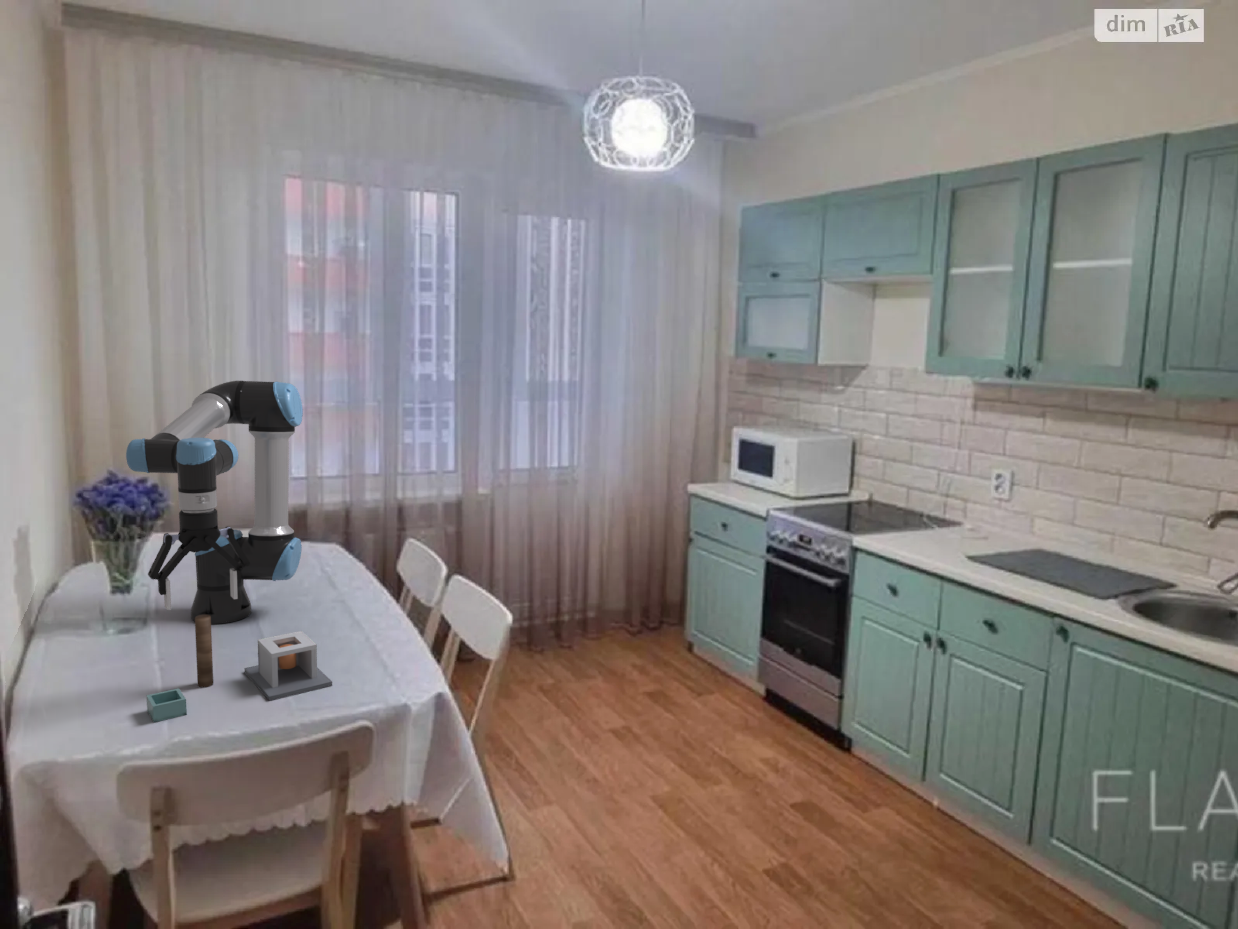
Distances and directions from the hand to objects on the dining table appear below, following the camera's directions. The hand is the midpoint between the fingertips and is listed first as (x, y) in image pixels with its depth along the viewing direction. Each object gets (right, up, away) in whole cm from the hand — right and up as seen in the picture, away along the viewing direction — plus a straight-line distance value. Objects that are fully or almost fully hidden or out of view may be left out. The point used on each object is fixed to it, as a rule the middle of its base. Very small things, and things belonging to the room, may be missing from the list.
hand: (201, 602), depth 190 cm
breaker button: (+16, -16, +8) cm, 24 cm away
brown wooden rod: (-1, -19, +4) cm, 19 cm away
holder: (-2, -21, -10) cm, 24 cm away
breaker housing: (+16, -19, +8) cm, 26 cm away
